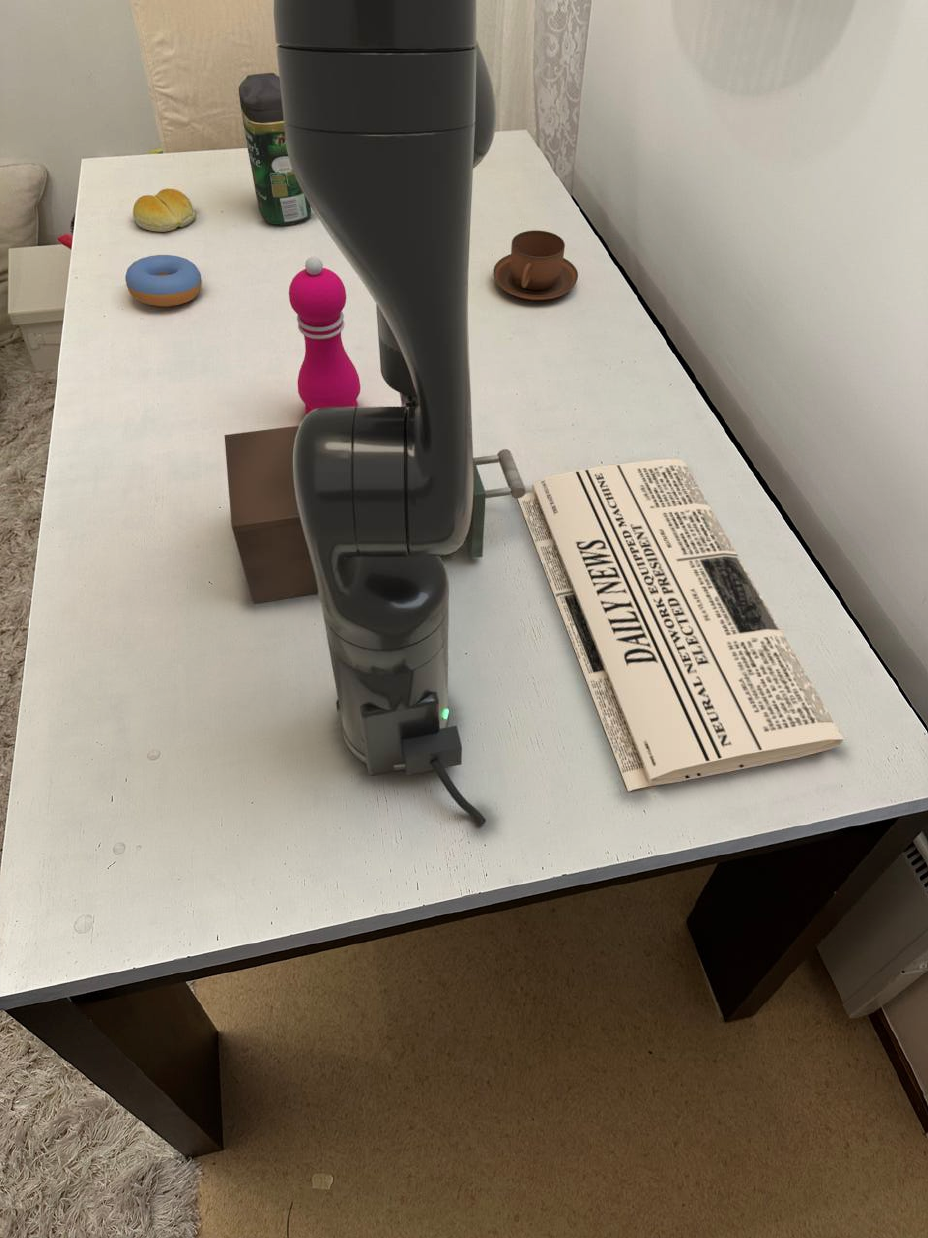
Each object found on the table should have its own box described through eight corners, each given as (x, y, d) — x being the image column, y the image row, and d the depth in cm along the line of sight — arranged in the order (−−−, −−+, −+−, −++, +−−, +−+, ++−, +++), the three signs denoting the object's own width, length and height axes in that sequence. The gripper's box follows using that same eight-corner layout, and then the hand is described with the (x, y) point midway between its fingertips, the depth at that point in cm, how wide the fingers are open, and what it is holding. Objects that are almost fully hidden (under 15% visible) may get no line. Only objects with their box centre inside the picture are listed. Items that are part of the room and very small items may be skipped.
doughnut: (188, 269, 121) (181, 238, 118) (216, 302, 116) (209, 270, 113) (121, 288, 118) (111, 257, 114) (146, 323, 113) (136, 291, 109)
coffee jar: (253, 202, 134) (230, 70, 120) (302, 195, 136) (285, 64, 122) (266, 230, 129) (244, 96, 114) (316, 223, 131) (301, 89, 116)
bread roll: (127, 217, 131) (120, 191, 128) (182, 202, 134) (176, 176, 131) (148, 239, 127) (141, 213, 123) (204, 223, 130) (198, 197, 127)
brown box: (380, 495, 93) (374, 415, 85) (400, 580, 85) (396, 502, 77) (244, 514, 91) (224, 434, 82) (252, 603, 83) (231, 526, 75)
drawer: (501, 475, 94) (506, 410, 87) (529, 550, 87) (536, 485, 80) (335, 498, 91) (326, 433, 84) (350, 577, 84) (342, 513, 77)
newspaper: (836, 750, 74) (848, 733, 72) (628, 791, 71) (634, 776, 69) (680, 473, 96) (685, 454, 94) (516, 496, 93) (518, 477, 91)
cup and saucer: (579, 309, 117) (584, 267, 112) (492, 306, 117) (494, 264, 112) (573, 264, 124) (579, 223, 120) (492, 262, 124) (494, 220, 120)
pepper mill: (353, 440, 99) (336, 280, 83) (294, 431, 100) (266, 271, 84) (370, 402, 103) (357, 244, 88) (313, 394, 104) (290, 236, 88)
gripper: (365, 285, 74) (377, 438, 88) (393, 382, 66) (401, 535, 79) (448, 277, 76) (447, 428, 89) (486, 371, 67) (478, 523, 80)
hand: (425, 478), depth 84 cm, fingers closed on pill bottle, 4 cm apart
